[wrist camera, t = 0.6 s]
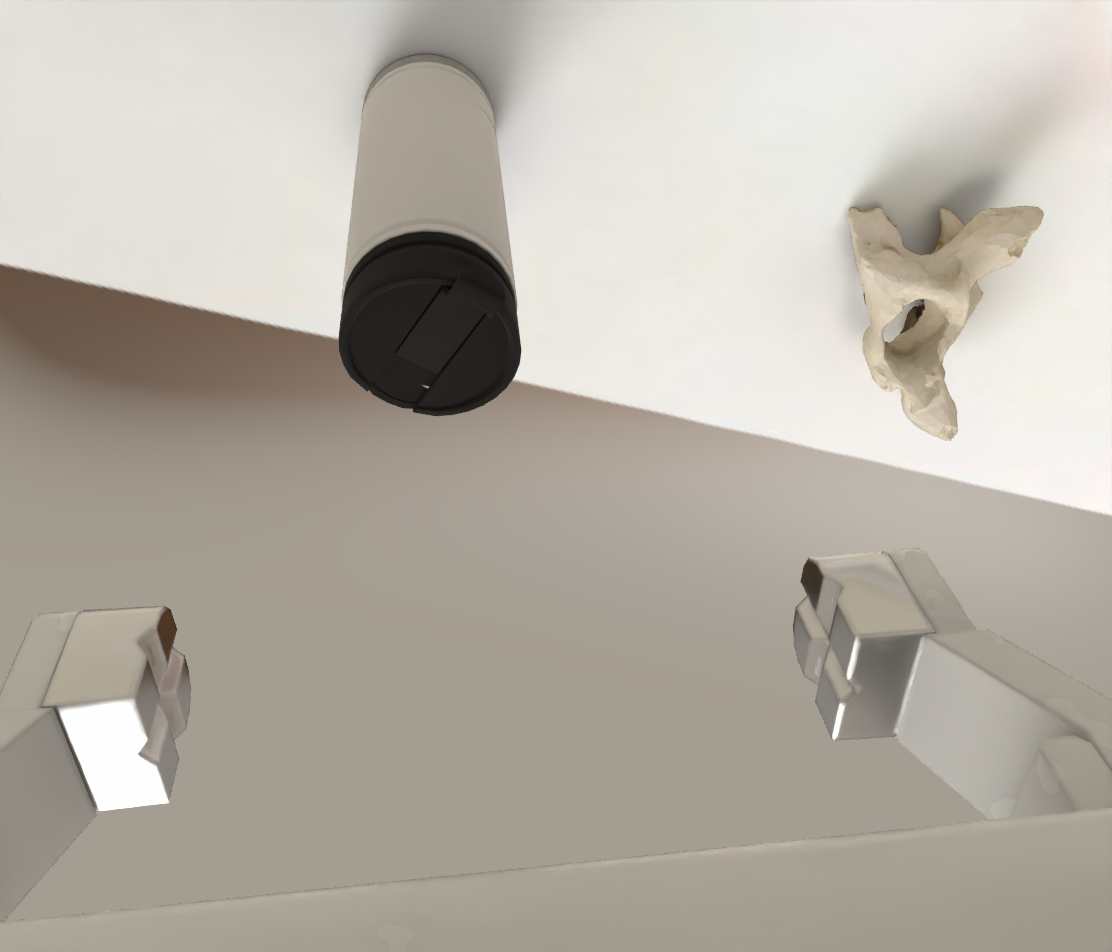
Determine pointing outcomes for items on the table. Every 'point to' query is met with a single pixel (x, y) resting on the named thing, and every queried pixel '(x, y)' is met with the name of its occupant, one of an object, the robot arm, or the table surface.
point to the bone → (929, 299)
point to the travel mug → (429, 245)
